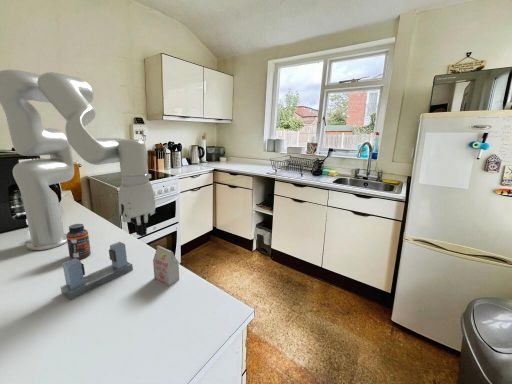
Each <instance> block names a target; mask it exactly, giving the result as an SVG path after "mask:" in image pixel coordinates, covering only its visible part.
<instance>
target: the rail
mask: <svg viewBox="0 0 512 384" xmlns="http://www.w3.org/2000/svg"><path fill="white" fill-rule="evenodd" d="M133 267H134V266H133V264H132V263H131V262H129V261H127V265H125V266H123V267H121V268H119V269H117V268H115V267H113V266H112V264H110V265H107V266H105V267H103V268H101V269H99V270H97V271H93V272H92V273H88V274H87V275H86V271H85V264H84V263H82V261H81V260H80V259H76V258H74V259H69V260H67V261H64V262H62V269H63V275H64V278H65V284H64V285H62V286H60V292H61V294H62V295H63V296H64V297H65V298H66V299H67V300H69V301H72V300H74V299H76V298H79V297H81V296H83V295H84V294H87V293H90V291H93V290H94V289H97V288H99V287H101V286H103V285H105V284H107V283H109V282H111V281H113V280H116V279H118V278H121V276H124V275H126V274H128V273H130V272H131V271H133V270H134V269H133Z"/></svg>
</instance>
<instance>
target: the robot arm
mask: <svg viewBox="0 0 512 384" xmlns="http://www.w3.org/2000/svg"><path fill="white" fill-rule="evenodd" d="M93 100H94V91H93V88H92V87H91V85H90V84H89V83H88V82H87V81H86V80H84V79H82V78H79V77H77V76H71V75H68V74H64V73H63V74H62V73H59V72H45V73H42V74H37V73H34V72H30V71H29V72H28V71H25V70H19V69H2V70H0V105H1V107H2V109H3V111H4V114H5V117H6V122H7V128H8V131H9V136H10V138H11V139H10V140H11V143H12V147H13V149H14V151H15V152H16V153H17V154H19V155H21V156H27V157H34V156H49V157H50V158H40V159H27V160H24V161H20V162H18V163H16V164H15V165H14V167H13V168H12V176H13V178H14V180H15V183H16V185H17V187H18V188H19V192H20V194H21V198H22V203H23V207H24V212H25V216H26V222H27V227H28V231H29V236H30V240H29V241H27V243H26V248H27V250H30V251H42V250H49V249H54V248H57V247H60V246H62V245H64V244H66V243H67V233H65V231H64V224H63V220H62V214H61V208H60V207H61V206H60V203H59V201H60V200H59V198H58V194H56V192H55V191H54V190H52V188H50V186H51V185H56V184H60V183H66V182H69V181H72V179H73V178H74V175H75V166H74V165H75V164H74V158H73V153H72V150H74V151H75V152H76V154H77V155H78V156H79V157H80V158H81V159H82V160H83V161H85V162H86V163H89V164H90V165H95V166H99V165H106V164H115V163H116V164H117V163H119V169H120V176H121V185H119V187H118V212H119V215H120V216H121V217H122V219H121V221H122V222H124V223H132V224H133V225H134V231H135V233H136V235H137V236H140V237H144V236H146V235H147V234H148V233H147V231H148V230H147V223H148V221H149V219H150V217H151V216H152V215H154V214H156V207H157V206H156V199H155V192H154V189H153V185H152V183H151V182H150V179H151V178H152V174H151V173H149V168H148V158H147V157H148V155H147V147H146V142H145V141H144V140H142V139H135V138H134V139H126V138H125V139H124V138H117V137H113V138H110V137H108V138H107V137H101V138H94V137H93V136H92V135H91V134H90V133H89V131H87V129H86V128H85V126H87V125H89V124H90V123H91V122H92V121H94V119H95V117H96V114H97V113H96V110H95V108H94V107H93V106H92V104H91V103H92V102H93ZM30 101H34V102H41V103H50V104H51V105H52V106H53V107H54V108H55V110H56V111H57V112H58V113H59V114H60V115H61V117H62V118H63V119H64V120H65V121H66V123H65V133H64V132H63V131H62V130H60V129H57V128H52V127H49V128H46V127H44V126H43V122H42V116H41V113H39V110H37V109H36V108H35V106H34V105H33V104H32V103H30Z"/></svg>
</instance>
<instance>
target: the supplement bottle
mask: <svg viewBox="0 0 512 384" xmlns="http://www.w3.org/2000/svg"><path fill="white" fill-rule="evenodd" d="M66 234H67V242H66V243H67V247H68V254H69V258H70V260H72V259H74V258H76V259H78V260H81V259H86V258H87V257H89V256H90V255H91V252H92V251H91V245H90V235H89V231H88V230H87V229H85V225H84V224H83V223H75V224H71V225H69V226H68V232H67V233H66Z"/></svg>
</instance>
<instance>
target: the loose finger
mask: <svg viewBox="0 0 512 384" xmlns="http://www.w3.org/2000/svg"><path fill="white" fill-rule="evenodd" d="M126 250H127V249H126V244H125V243H123V242H121V241H117V242H115V243H112V244H110V245H109V249H108V255H109V260H110V261H111V265H112V266H113V267H115V268H117V269H119V268H121V267H123V266H125V265H127V262H128V259H127V257H128V256H127V251H126Z"/></svg>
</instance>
